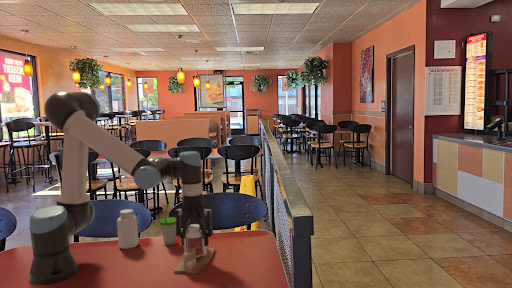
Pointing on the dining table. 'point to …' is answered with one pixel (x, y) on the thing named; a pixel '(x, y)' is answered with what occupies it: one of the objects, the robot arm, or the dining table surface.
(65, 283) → the dining table surface
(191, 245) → the pill bottle
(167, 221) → the cup
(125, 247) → the pill bottle
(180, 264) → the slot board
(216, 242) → the dining table surface
